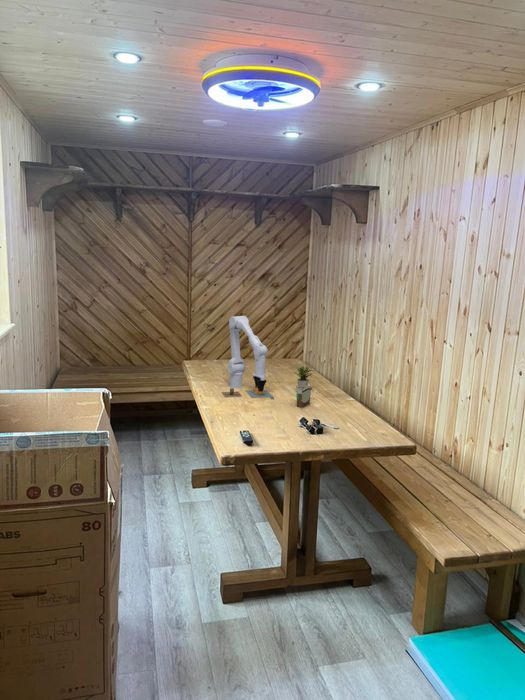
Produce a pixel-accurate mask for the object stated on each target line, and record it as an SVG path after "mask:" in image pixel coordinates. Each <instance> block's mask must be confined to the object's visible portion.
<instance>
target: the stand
mask: <svg viewBox="0 0 525 700" xmlns="http://www.w3.org/2000/svg"><path fill="white" fill-rule="evenodd" d="M221 394H222V395H223V397H224V398H243V396H242V394H241V393H240V392H239V391H235V388H232V387H230V388H229V391H223V392H222V391H221Z"/></svg>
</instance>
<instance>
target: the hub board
mask: <svg viewBox="0 0 525 700" xmlns="http://www.w3.org/2000/svg"><path fill="white" fill-rule="evenodd" d="M244 391H245V392H246V393H247V395H248V396H249V397H250V398H251V399H267V398H269V399H270V400H272V399H273V400H274V399H275V396H273V395H272V394H271V393H270V392H269V391H268V390H267V389H264V394H263V395H255V394H254V389H247V390H246V389H245V390H244Z"/></svg>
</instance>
